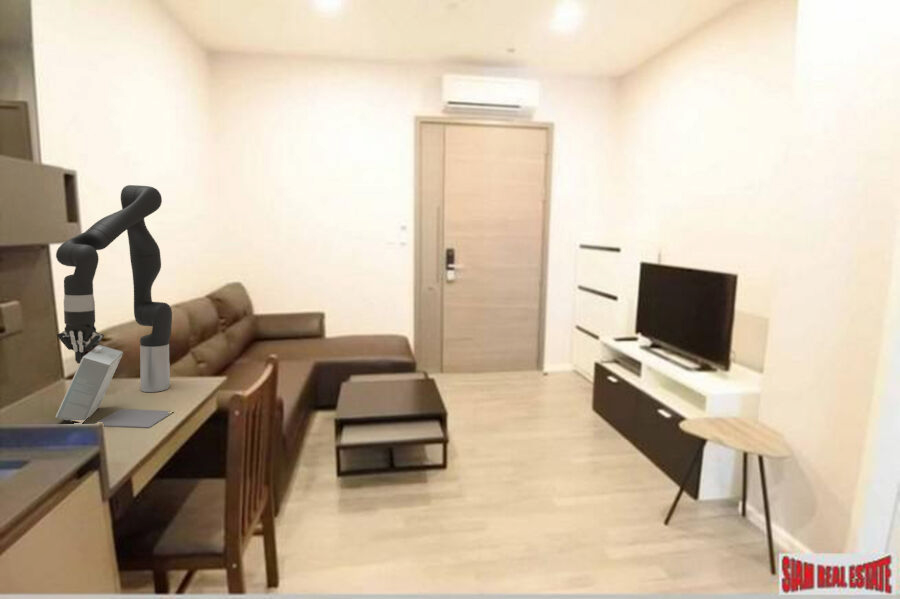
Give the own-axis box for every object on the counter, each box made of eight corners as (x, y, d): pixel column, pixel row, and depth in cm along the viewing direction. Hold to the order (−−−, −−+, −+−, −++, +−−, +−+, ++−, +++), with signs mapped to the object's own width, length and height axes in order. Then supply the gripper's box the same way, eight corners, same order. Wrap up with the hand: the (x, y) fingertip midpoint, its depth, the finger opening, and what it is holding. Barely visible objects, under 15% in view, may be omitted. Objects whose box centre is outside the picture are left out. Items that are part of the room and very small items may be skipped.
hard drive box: (73, 399, 153) (99, 344, 153) (99, 406, 156) (125, 352, 156) (53, 417, 138) (82, 356, 139) (83, 425, 141) (111, 364, 142)
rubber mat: (121, 409, 155) (121, 408, 155) (174, 412, 156) (174, 410, 156) (91, 425, 141) (91, 424, 141) (149, 428, 142) (149, 426, 142)
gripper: (109, 308, 149) (111, 360, 151) (66, 305, 148) (68, 358, 150) (93, 311, 141) (95, 367, 144) (47, 309, 141) (50, 365, 143)
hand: (81, 362), depth 147 cm, fingers closed
